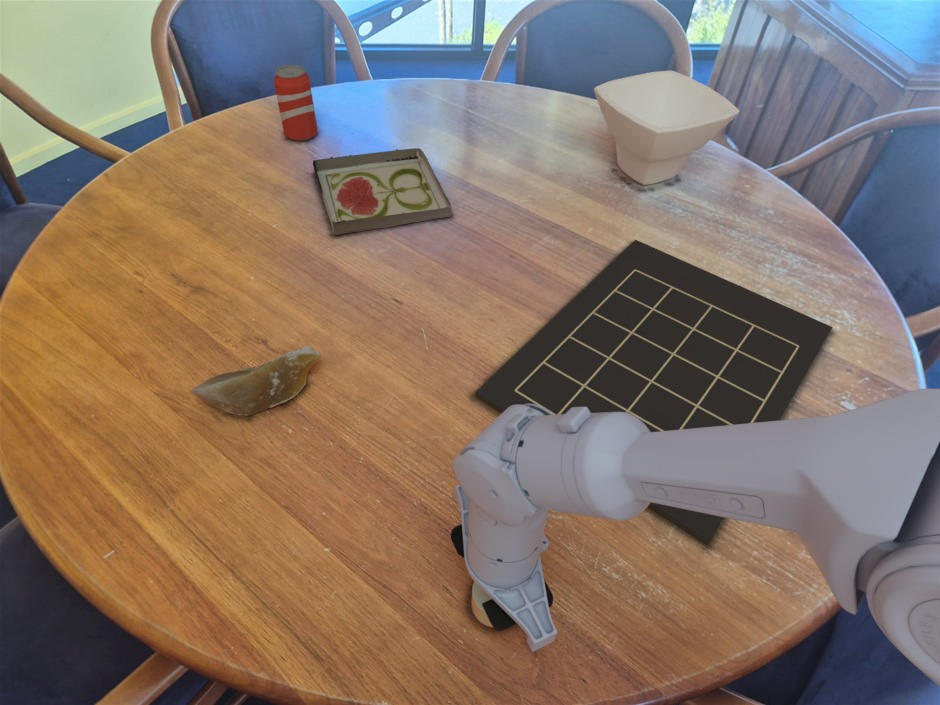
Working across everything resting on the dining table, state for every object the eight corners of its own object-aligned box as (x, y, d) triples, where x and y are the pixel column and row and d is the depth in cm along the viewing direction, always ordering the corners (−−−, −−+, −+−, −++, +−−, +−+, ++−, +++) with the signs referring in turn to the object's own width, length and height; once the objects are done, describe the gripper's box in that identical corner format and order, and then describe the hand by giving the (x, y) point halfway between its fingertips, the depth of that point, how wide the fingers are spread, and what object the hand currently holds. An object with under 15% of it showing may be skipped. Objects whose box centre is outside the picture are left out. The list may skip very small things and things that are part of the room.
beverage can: (305, 123, 121) (293, 60, 112) (324, 135, 118) (315, 71, 109) (278, 134, 118) (264, 70, 109) (298, 146, 115) (285, 81, 106)
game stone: (526, 615, 57) (529, 602, 55) (483, 635, 56) (485, 623, 54) (504, 573, 60) (507, 559, 58) (463, 591, 59) (464, 578, 57)
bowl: (571, 161, 114) (584, 85, 104) (655, 139, 120) (674, 66, 110) (634, 214, 102) (654, 135, 92) (723, 187, 109) (751, 110, 99)
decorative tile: (424, 161, 114) (313, 170, 109) (424, 145, 112) (311, 154, 107) (452, 224, 101) (327, 238, 96) (453, 208, 98) (325, 221, 94)
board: (707, 545, 63) (710, 540, 62) (475, 397, 75) (475, 391, 74) (829, 332, 84) (833, 326, 84) (634, 244, 97) (635, 238, 96)
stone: (177, 364, 69) (306, 316, 73) (193, 388, 74) (312, 342, 79) (197, 418, 66) (330, 365, 71) (212, 439, 72) (334, 388, 76)
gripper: (602, 591, 44) (574, 655, 54) (508, 437, 53) (499, 516, 63) (514, 634, 42) (501, 692, 52) (432, 466, 51) (434, 543, 60)
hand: (495, 597), depth 57 cm, fingers closed on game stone, 4 cm apart
